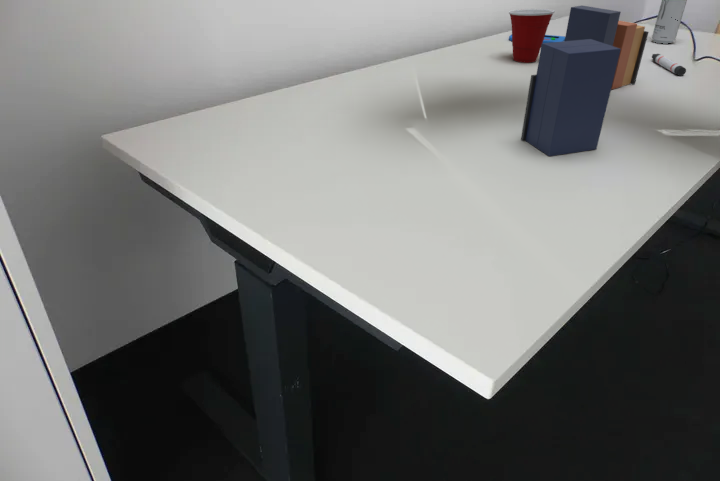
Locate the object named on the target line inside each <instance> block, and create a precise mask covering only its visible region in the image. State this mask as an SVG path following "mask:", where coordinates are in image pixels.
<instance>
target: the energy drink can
mask: <svg viewBox="0 0 720 481" xmlns="http://www.w3.org/2000/svg"><path fill="white" fill-rule="evenodd" d="M687 2H688V0H661V2H660V6H659V10H658V13H657V18H656V21H655V24H654V28H653V32H652V35H651V39H652V42H653V43H655V42H656V43H655V44H659V43H663V44H662V45H669V44H668V43H672V44H673V42H674V41H676V39H677V35H678V33H679V29H680V25H681V22H682V20H683V19H682V18H683V15H684V12H685V8H686V5H687ZM671 17H672V18H671ZM675 19H676V20H675ZM677 20H678V21H677Z"/></svg>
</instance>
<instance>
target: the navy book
mask: <svg viewBox="0 0 720 481" xmlns="http://www.w3.org/2000/svg"><path fill="white" fill-rule="evenodd" d="M620 17H621V11H619V10H614V9H613V10H612V9H606V8H599V7H594V6H589V5H588V6H587V5H576V6H575V5H574V6H570V10H569V14H568V19H567V26H566V30H565V41H574V40H586V39H592V40H595V41H598V42H601V43H604V44H608V45H611V46H613V42H614V38H615V34H616V30H617V25H618V21H620Z"/></svg>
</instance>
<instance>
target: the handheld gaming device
mask: <svg viewBox="0 0 720 481" xmlns="http://www.w3.org/2000/svg"><path fill="white" fill-rule="evenodd" d="M565 36H566V35H565ZM565 36H563V35H552V34H545V37H544V40H543V43H551V42H563V41H565ZM508 40H509V41H511V42H512V33H511V34H510V35H509V36H508Z"/></svg>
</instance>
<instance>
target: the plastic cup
mask: <svg viewBox="0 0 720 481" xmlns="http://www.w3.org/2000/svg"><path fill="white" fill-rule="evenodd" d="M508 14H509V15H510V23H511V24H510V25H511V34H512V41H511V46H512V60H513V61H515V62H517V63H522V64H523V63H524V64H527V63H528V64H529V63H535V62H536V61H537V60H538V59H539V55H540V51H541V45H542V43H543V40H544V37H545V35H547V30H548V27H549V25H550V22H551V20H552V17H553V15H554V14H555V10H554V9H548V8H521V9H519V8H517V9H512V10H511V9H510V10H508Z"/></svg>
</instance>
